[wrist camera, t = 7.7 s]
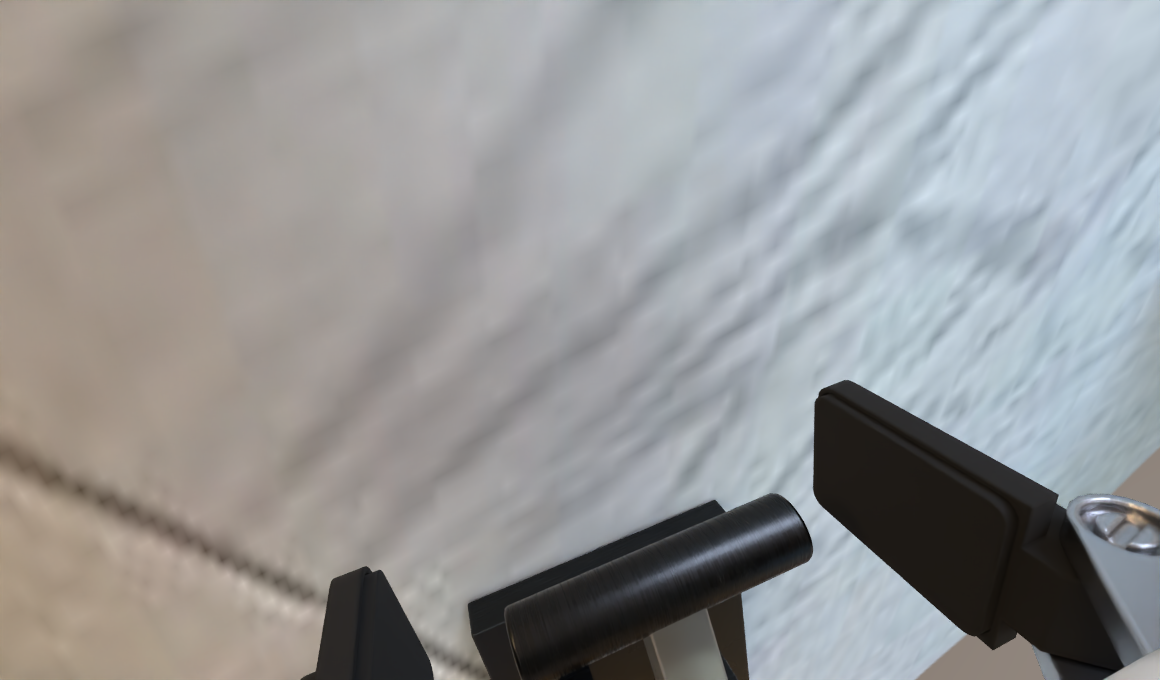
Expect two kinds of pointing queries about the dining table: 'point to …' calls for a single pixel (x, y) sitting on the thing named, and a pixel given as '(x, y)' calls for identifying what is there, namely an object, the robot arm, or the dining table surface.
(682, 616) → the switch lever
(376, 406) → the dining table surface
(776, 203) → the dining table surface
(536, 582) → the switch bracket
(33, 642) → the dining table surface
